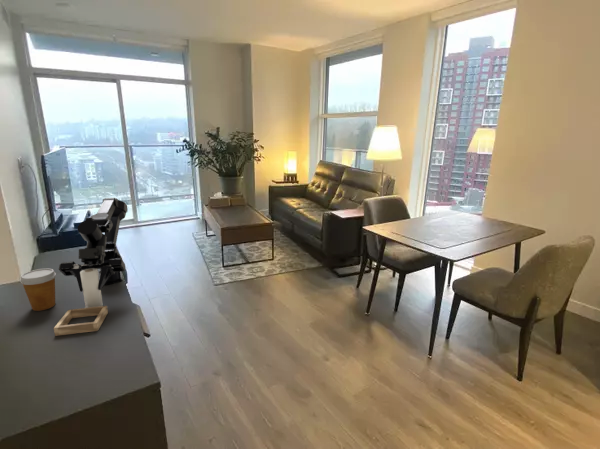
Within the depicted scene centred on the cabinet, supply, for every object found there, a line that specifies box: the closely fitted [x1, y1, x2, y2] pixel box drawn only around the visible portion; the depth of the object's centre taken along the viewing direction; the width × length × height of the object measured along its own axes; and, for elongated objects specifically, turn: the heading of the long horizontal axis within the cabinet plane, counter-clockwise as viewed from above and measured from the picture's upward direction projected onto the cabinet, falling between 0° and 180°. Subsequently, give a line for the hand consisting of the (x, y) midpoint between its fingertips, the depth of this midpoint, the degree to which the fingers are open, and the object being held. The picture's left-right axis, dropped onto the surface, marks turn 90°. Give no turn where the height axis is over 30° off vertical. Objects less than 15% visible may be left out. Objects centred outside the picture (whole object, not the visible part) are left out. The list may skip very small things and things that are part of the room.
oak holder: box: [53, 305, 109, 337], centre depth 102 cm, size 11×11×2 cm
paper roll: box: [80, 268, 104, 308], centre depth 111 cm, size 5×5×13 cm
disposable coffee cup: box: [19, 268, 57, 312], centre depth 111 cm, size 10×10×12 cm
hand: (90, 290), depth 110 cm, fingers closed on paper roll, 5 cm apart
